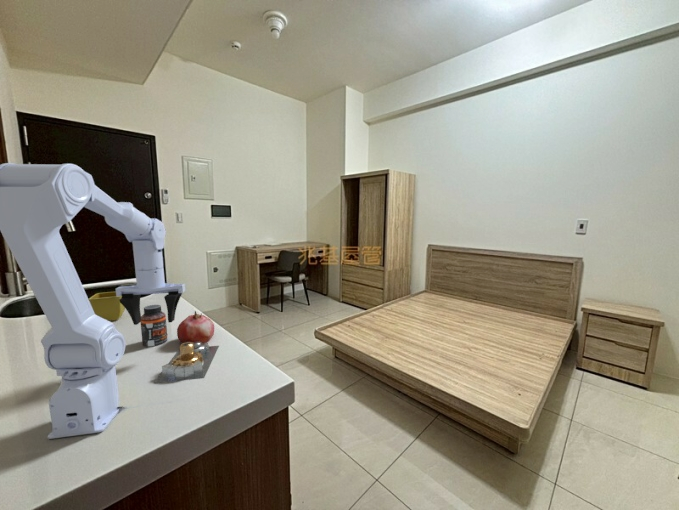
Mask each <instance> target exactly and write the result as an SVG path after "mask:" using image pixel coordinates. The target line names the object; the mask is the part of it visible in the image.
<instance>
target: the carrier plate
mask: <svg viewBox="0 0 679 510" xmlns="http://www.w3.org/2000/svg"><path fill="white" fill-rule="evenodd" d="M219 347H220V345H211V346H210V345H209V352H206V353H205V355H203V363H202V370H203V372H202V373H200V374H198V375H195V376H192V377H189V378H184V379H167V378H165V377H163V374H162V372H160V374H159V375H158V377H157V378H156V379H155V381H154V382H153V384H160V383H161V384H163V383H169V382H180V381H188V380H189V381H190V380H199V379H205V378H206V376H207V373H208V371H209V368H210V366H211V365H212V362H213V360H214V358H215V356H216V354H217V351H218V349H219ZM179 355H180V348H179V349H178V350H177V351H176V353H175V354H174V355H173V357H172V358H171V360H170V361H169V362H168V363H167V364H169V365H171V366H173V365H172V361H173V359H177V356H179Z"/></svg>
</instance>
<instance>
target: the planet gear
mask: <svg viewBox="0 0 679 510" xmlns="http://www.w3.org/2000/svg"><path fill="white" fill-rule="evenodd" d="M179 349H180V355H179V356H177V359H173V361H172V365H173V366H184V365H189V364H192V363H195V362H198V361H200V362H202V363H203V356H202V355H201V353H199V352H197V353H194V346H193V342H185V343H181V344H179Z"/></svg>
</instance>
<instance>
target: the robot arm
mask: <svg viewBox="0 0 679 510" xmlns="http://www.w3.org/2000/svg"><path fill="white" fill-rule="evenodd" d="M83 208H85V209H88V210H90V211H92V212H95V213H96V214H99V215H101V216H103V217H104V221H105V223H106V224H107V225H108V226H110V227H112V228H113V229H115V230H117V231H119V232H121V233H122V234H124V236H125V238H126V240H127V241H128V242H129V243H132V251H133V260H134V269H135V270H134V271H135V279H136V284H135V285H125V286H124V285H123V286H118V287H116V288H115V292H116V296H122V297H121V299H119V301H120V303H121V304H122V305H123V306H124V307H125V309H126V311H127V312H128V313H127V314H128V315H129V317H130V318H131V320H132V323H133V325H134V326H137V325H139V323H140V324H141V316H142V315H141V295H153V294H155V295H156V294H157V295H158V294H166V295H165V296H164V297H163V298H164V301H165V305H166V309H167V320H168V321H167V322H168V323H172V322H174V321H175V319H176V318H175V317H176V311H177V307H178V304H179V302H180V299H181V297H182V295H183V294H184V293H185V292H186V284H185V283H166V281H165V280H166V279H165V270H164V257H163V249H164V247H165V238H166V234H167V232H166V228H165V225H164V222H162V221H161V220H160V219H158V218H155V217H154V218H153V217H152V218H150V217H149V216H148V215H146V214H145V213H144V212H142V211H140V210H138V209H137V208H136V207H135V206H134V204H133V203H131V202H129V201H128V202H127V201H126V202H125V201H120V202H119V201H118V202H117V201H116V200H115V199H114V198H112V197H111V196H110V195H108V194H107V193H106V192H105V191H103V190H102V189H100V187H98V186H97V185H96V184H95V181H94V178H93V176H92V174H90V173H89V172H87V171H85V170H84V169H82V167H80V166H78V165H77V164H74V163H62V164H53V163H52V164H45V163H44V164H42V163H41V164H37V163H34V164H32V163H31V164H30V163H19V164H18V163H13V162H6V163H2V164H0V233H1V235H2V237H3V239H4V241H5V242H6V244H7V246H8V248H9V249H10V252H11V253H12V257H14V259H15V261H16V263H17V264H18V265H17V266H18V267H19V269H20V270H21V272H22V275H23V276H24V278H25V279H26V282H27V284H28V286H29V287H30V290H31V291H32V293H33V295H34V297H35V299H36V300H37V302H38V304H39V306H40V307H41V310H42V311H43V312H42V313H44V316H45V317H46V319H47V321H48V324H49V325H50V326H51V328H50V329H49V330H48V331H47V332H46V333H45V334H44V335H43V337H42V338H41V339H40V343H41V345H42V346H43V351H44V354H43V356H44V362H45V364H46V366H47V368H49V369H50V370H56V376H58V377H61V382H60V385H59V387H58V388H57V390H56V391H55V392H54V393H53V394H52V396H50V398H49V403H48V408H49V413H50V421H51V426H52V427H51V428H52V431H51V432H50V433H49V434H48V435H47V439H50V440H52V439H59V438H65V437H73V436H82V435H90V434H96V433H101V432H103V431H105V429H106V428H107V427H108V426H109V424H110V423H111V422H112V421H113V420H114V418H115V417H116V416H117V415H118V413H119V412H120V411H121V409H123V406H119V405H120V394H119V387H118V385H119V384H118V376H117V370H116V369H117V368H116V365H118V363H120V361H121V359H122V358H123V356H124V354H125V350H126V339H125V337H124V335H123V334H122V333H121V332H119V331H118V330H117V329H116V327H115V324H114V323H113V321H108V320H106V319H103V318H101V317H99V316H97V315H95V313H94V311H93V309H92V306H91V304H90V302H89V298H88V295H87V293H86V291H85V288H84V286H83V283H82V282H81V279H80V277H79V274H78V272H77V270H76V268H75V266H74V263H73V262H72V258H71V256H70V254H69V253H68V250H67V249H68V248H67V247H66V245H65V242H64V241H63V239H62V238H63V237H62V236H61V234H60V229H61V228H62V226H63V225H65V224H68V223H69V222H71V221H72V220H73V219H74V218H75V216H77V214H78V213H79V212H80V211H81V210H82V209H83Z"/></svg>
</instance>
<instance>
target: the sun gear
mask: <svg viewBox="0 0 679 510" xmlns="http://www.w3.org/2000/svg"><path fill="white" fill-rule="evenodd" d="M208 343H209V342H205V343H201V342H200V341H196V342H193V346H194V353H197V352H199V353H201V355H202V356H203V355H205V353H206V352H209V346H210V345H209V344H208Z"/></svg>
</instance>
